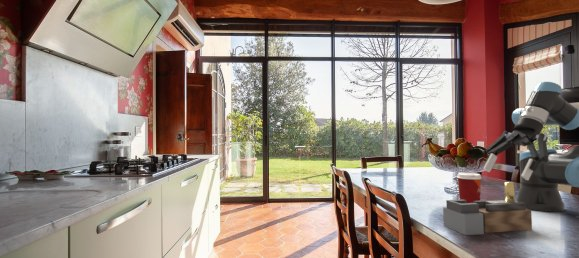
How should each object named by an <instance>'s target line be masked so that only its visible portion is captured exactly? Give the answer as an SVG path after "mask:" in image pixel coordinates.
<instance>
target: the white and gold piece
mask: <svg viewBox="0 0 579 258" xmlns="http://www.w3.org/2000/svg"><path fill="white" fill-rule="evenodd" d="M515 191H516V190H515V182H513V181H504V199H505V200H503V199H500V200H501V201H485V204H502V203H518V202H516V192H515Z"/></svg>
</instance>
